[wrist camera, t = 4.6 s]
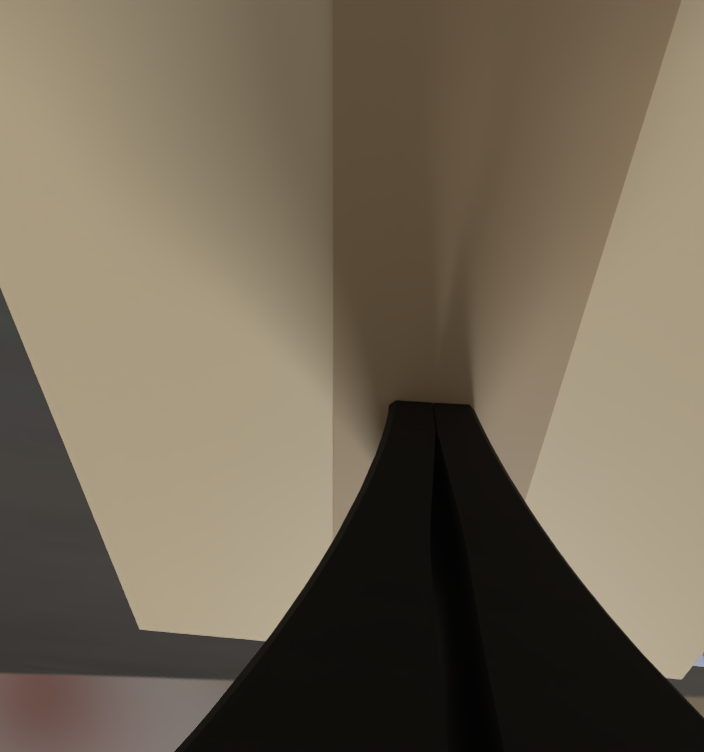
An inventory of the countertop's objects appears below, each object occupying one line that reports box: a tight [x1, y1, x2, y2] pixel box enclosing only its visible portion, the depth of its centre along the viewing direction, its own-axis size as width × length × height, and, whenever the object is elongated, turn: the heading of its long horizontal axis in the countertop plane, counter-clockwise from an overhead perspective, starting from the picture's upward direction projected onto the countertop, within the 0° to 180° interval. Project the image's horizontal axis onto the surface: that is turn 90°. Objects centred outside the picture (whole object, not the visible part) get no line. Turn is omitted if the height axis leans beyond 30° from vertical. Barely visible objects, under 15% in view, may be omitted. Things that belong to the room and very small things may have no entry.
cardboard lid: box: [0, 0, 704, 679], centre depth 10 cm, size 14×15×1 cm
